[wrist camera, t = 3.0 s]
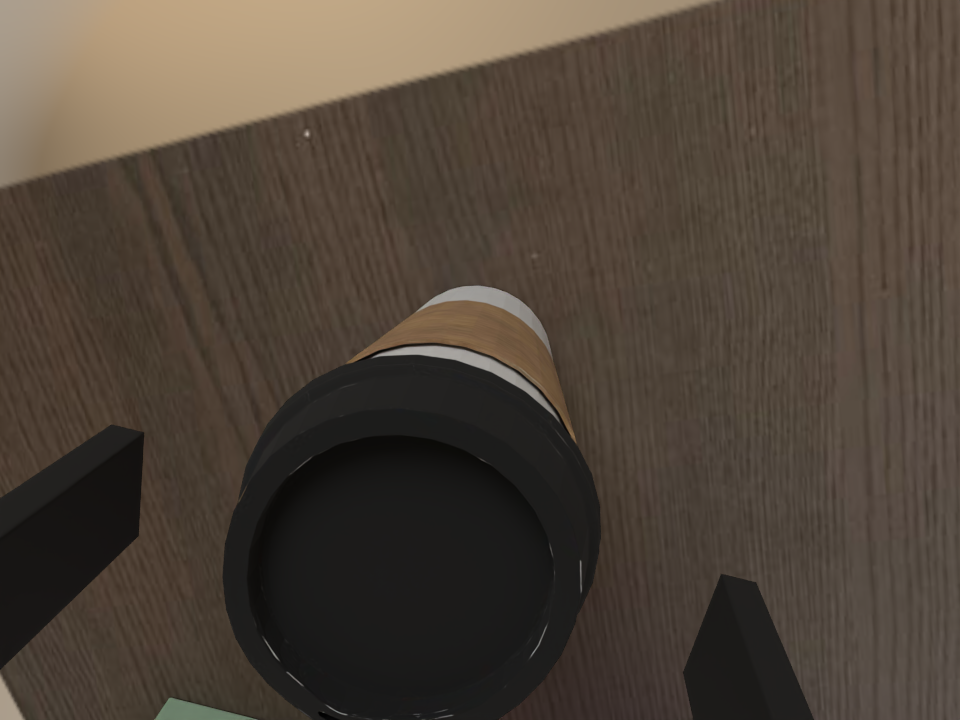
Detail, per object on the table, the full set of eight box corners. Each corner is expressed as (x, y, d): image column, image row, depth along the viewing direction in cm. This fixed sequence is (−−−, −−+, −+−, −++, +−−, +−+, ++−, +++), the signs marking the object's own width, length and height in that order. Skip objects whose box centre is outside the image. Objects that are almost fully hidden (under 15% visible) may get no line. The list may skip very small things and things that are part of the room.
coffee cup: (344, 402, 29) (147, 664, 15) (419, 215, 27) (262, 323, 12) (528, 483, 30) (501, 813, 16) (621, 307, 27) (691, 514, 13)
